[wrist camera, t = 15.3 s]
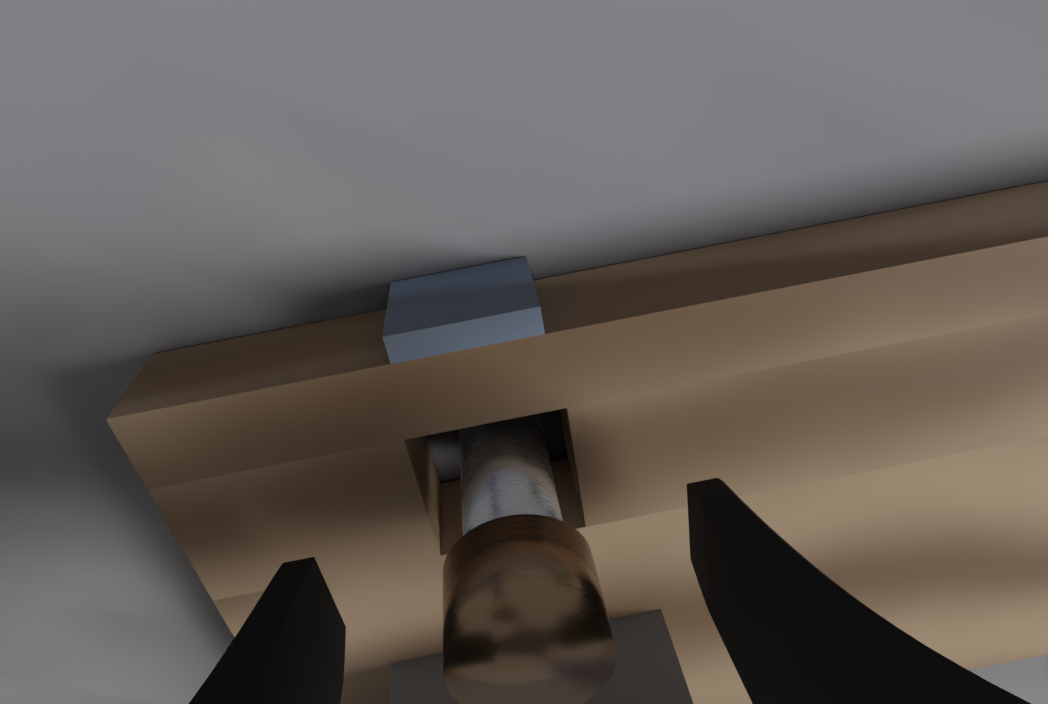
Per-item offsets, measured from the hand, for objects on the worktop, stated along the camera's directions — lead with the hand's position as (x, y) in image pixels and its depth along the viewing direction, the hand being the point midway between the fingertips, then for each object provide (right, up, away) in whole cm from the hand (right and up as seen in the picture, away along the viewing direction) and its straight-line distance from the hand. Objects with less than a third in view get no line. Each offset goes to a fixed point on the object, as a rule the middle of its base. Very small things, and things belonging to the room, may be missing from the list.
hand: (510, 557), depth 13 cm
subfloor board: (+6, 0, +6) cm, 8 cm away
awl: (0, +2, +4) cm, 5 cm away
